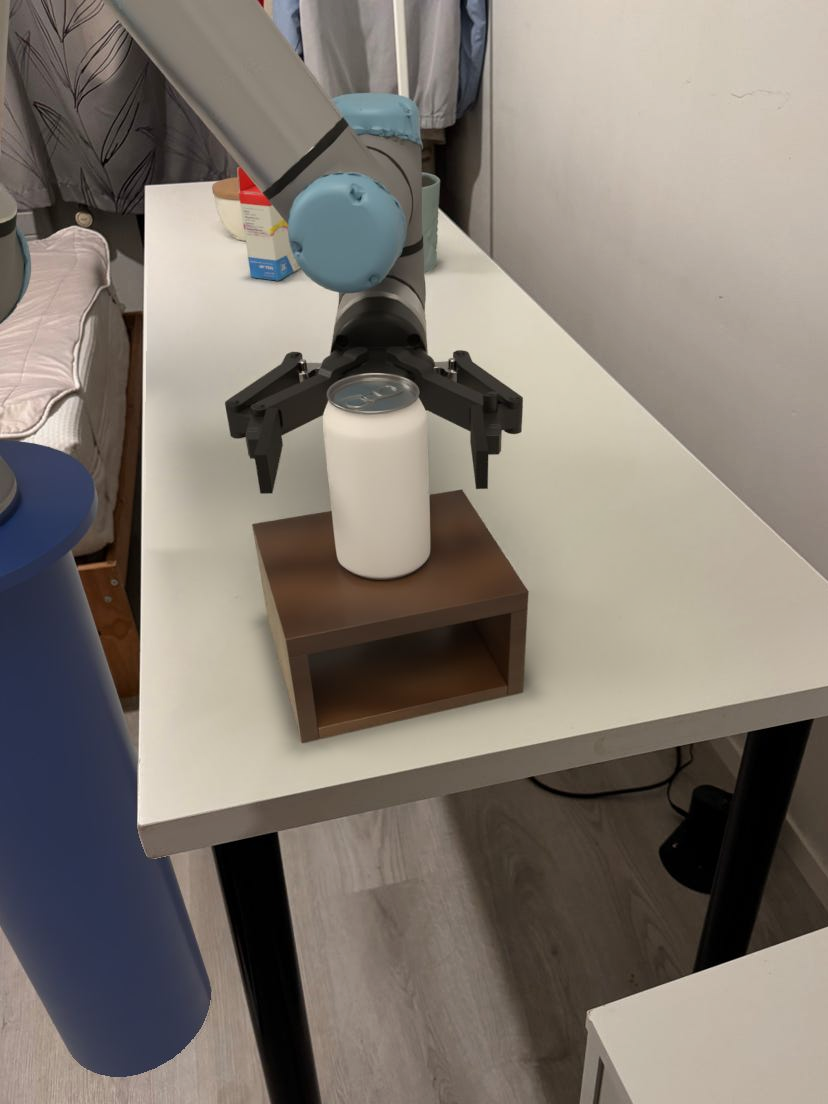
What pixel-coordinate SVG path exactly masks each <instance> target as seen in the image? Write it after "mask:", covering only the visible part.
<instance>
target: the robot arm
mask: <svg viewBox="0 0 828 1104" xmlns="http://www.w3.org/2000/svg"><path fill="white" fill-rule="evenodd" d="M101 1H102V3H103V4H104V6H106V8H107V9H108V10H109V11H110V12H111V13H112V15H113V16H114V17H115V18H116V19H117V21H118V22H119V23H120V24H121V25H122V26H123V28H124V29H125V31H127V33H128V34H129V35H130V36H131V37H132V38H133V40H134V41H135V42H136V43H137V45H138V46H139V47H140V48H141V49H142V51H143V52H144V53H145V54H146V55H147V57H148V58H149V59H150V60H151V61H152V63H153V64H154V66H156V67H157V68H158V70H159V71H160V72H161V73H162V74H163V76H164V77H165V78H166V79H167V80H168V82H169V83H170V84H171V85H172V87H174V89H175V90H176V92H177V93H178V94H179V95H180V96H181V98H183V100H184V101H185V102H186V103H187V105H188V106H189V107H190V108H191V109H192V110H193V112H194V113H195V114H196V115H197V117H198V118H199V119H200V120H201V121H202V122H203V124H204V126H206V127H207V129H208V130H209V131H210V132H211V133H212V135H213V136H214V137H215V139H216V140H217V141H218V142H219V143H220V144H221V146H222V147H223V148H224V149H225V151H227V153H228V154H229V155H230V156H231V157H232V158H233V160H234V161H235V162H236V163H237V165H239V166H238V167H241V168H242V169H243V170H244V172H245V173H246V174H247V175H248V176H249V178H250V179H251V180H252V181H253V182H254V184H255V185H256V186H257V187H258V188H259V190H260V191H261V192H262V193H263V194H264V195H265V197H266V198H267V199H268V200H269V202H270V203H271V204H272V205H273V207H274V208H275V209H276V210H277V212H278V213H279V214H280V215H281V217H282V218H283V219H284V220H285V222H286V223H287V224H288V236H289V242H290V247H291V250H292V253H293V255H294V258H295V260H296V262H297V264H298V265H299V267H300V270H301V271H302V273H304V275H306V277H308V279H310V280H311V281H312V282H313V283H315V284H316V285H318V286H319V287H322V288H323V289H326V290H328V291H331V292H333V293H338V305H337V310H336V315H335V321H334V326H333V333H332V338H331V345H330V351H329V352H330V353H329V355H328V356H326V357H324V359H323V360H322V361H321V362H307V360H306V359H303V353H302V352H300V351H291V352H288V353H286V355H285V356H284V358H283V360H282V362H281V363H280V364H279V365H277V366H276V367H274V368H273V369H271V370H270V371H268V372H266V374H263V375H262V376H261V377H259V378H258V379H256V380H255V381H253V382H252V383H250V384H248V386H246V387H244V388H242V389H241V390H239V392H237V393H236V394H234V395H233V396H230V398H228V399H226V400H225V402H224V407H225V413H226V417H227V423H228V429H229V435H230V437H231V438H232V439H236V440H237V439H244V438H245V444H246V451H247V455H248V458H249V459H250V460H252V459H254V463H255V468H256V469H255V470H256V475H257V481H258V487H259V493H260V495H265V494H273V492H274V488H275V484H276V479H277V475H278V470H279V465H280V461H281V455H282V450H283V447H284V444H283V436H284V435H286V434H288V433H290V432H292V431H294V430H296V429H298V428H301V427H302V426H304V425H307V424H309V423H310V422H313V421H314V420H316V419H319V418H321V417H323V414H324V411H325V408H326V405H327V403H328V398H327V391H328V389H329V388H330V386H331V385H332V384H334V383H335V382H337V381H339V380H341V379H343V378H346V377H349V376H353V375H358V374H366V373H386V374H393V375H398V376H402V377H405V378H407V379H409V380H411V381H413V382H414V383H415V384H416V385H417V386H418V388H419V399H420V401H421V402H422V404H423V406H424V408H425V411H426V412H430V413H431V414H434V415H435V416H437V417H439V418H441V419H443V420H445V421H448V422H450V423H452V424H453V425H455V426H458V427H460V428H462V429H464V430H466V431H468V432H469V433H470V435H469V436H470V437H469V439H470V441H469V442H470V451H471V458H472V459H471V460H472V468H473V476H474V477H473V478H474V484H475V489H476V490H488V488H489V456H490V455H491V456H492V455H494V456H495V455H497V456H498V455H500V453H501V452H502V437H503V436H502V433H503V431H504V432H505V433H506V434H509V435H518V434H521V433H522V430H523V429H522V428H523V413H524V412H523V411H524V410H523V409H524V397H523V396H522V395H520V394H519V393H517V392H516V391H515V390H513V389H512V388H511V387H509V385H508V386H507V384H505V383H504V382H502V381H501V380H499V379H498V378H497V377H495V376H494V375H492V374H491V373H489V372H488V371H487V370H485V369H484V368H482V367H481V366H479V364H477V363H475V362H474V361H473V359H472V357H471V355H470V352H468V351H467V350H463V349H458V350H455V351H453V352H452V357H449V358H448V361H447V360H446V361H435V359H434V358H433V357H432V356H430V355H429V352H428V338H427V336H428V333H427V319H426V299H427V298H426V297H427V296H426V294H427V293H426V291H427V290H426V277H425V272H424V245H423V235H422V171H423V169H422V167H423V166H422V162H423V161H422V150H424V143H423V141H422V138H421V122H420V110H419V108H418V106H417V104H416V102H415V101H413V100H412V99H411V98H410V97H407V96H405V95H401V94H394V93H385V92H357V93H347V94H342V95H338V96H336V97H333V98H331V97H330V95H329V94H328V93H327V91H326V89H324V88H323V86H322V85H321V84H320V82H319V81H318V79H317V78H316V76H315V75H314V74H313V73H312V71H311V70H310V68H309V67H308V66H307V64H305V62H304V60H302V58H301V57H300V55H299V54H298V52H297V51H296V50H295V48H294V47H293V46H292V44H291V43H290V42H289V40H288V39H287V37H286V36H285V35H284V34H283V32H282V31H281V30H280V28H279V27H278V26H277V24H276V23H275V22H274V20H273V19H272V18H271V16H270V15H269V14H268V13H267V11H266V9H265V8H264V7H263V6H262V4H261V3H260V1H259V0H101ZM10 9H11V0H0V160H1V158H2V140H3V126H4V125H3V124H4V110H5V109H4V107H5V93H6V91H5V90H6V74H7V61H8V59H7V58H8V57H7V56H8V41H9V26H10V25H9V23H10ZM17 216H18V203H17V200H16V198H15V197H14V195H13V194H12V193H11V192H10V190H9V188H7V187H6V186H5V184H4V183H3V182H2V181H1V180H0V325H2V324H3V323H4V322H5V321H6V320H7V319H8V318H9V317H10V316H12V314H13V313H14V312H15V310H16V309H17V307H18V304H20V303H21V301H22V300H23V298H24V296H25V294H26V292H27V290H28V288H29V285H30V281H31V276H32V257H31V251H30V247H29V244H28V241H27V239H26V236H25V234H24V232H23V231H21V230H20V229H19V227H18V225H17V221H18V217H17ZM20 501H21V493H20V490H19V487H18V484H17V481H16V478H15V475H14V473H13V471H12V470H11V469H10V467H9V466H8V465H7V463H6V462H5V461H4V460H3V458H2V457H1V456H0V527H1V526H2V525H3V524H5V523H6V522H7V521H8V520H9V519H10V518H11V517H12V516H13V515H14V513H15V512H16V511H17V509H18V507H19V504H20Z"/></svg>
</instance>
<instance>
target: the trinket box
mask: <svg viewBox="0 0 828 1104" xmlns="http://www.w3.org/2000/svg"><path fill="white" fill-rule="evenodd" d="M211 189H212V190H211V191H212V194H213V198H214V203H215V208H216V211H217V212H216V213H217V215H218V217H219V220H220V222H221V223H222V226H223V227H224V228H225V229H226V230H227V231H228V233H230V234H232V235H233V237H234V239H236V240H238V241H243V242H246V239H245V232H244V225H243V218H242V212H241V205H240V198H239V184H238V176H235V177H228V178H224V179H221V180H218V181H216V182H214V183H213V184H212V186H211Z"/></svg>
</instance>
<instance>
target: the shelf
mask: <svg viewBox="0 0 828 1104" xmlns="http://www.w3.org/2000/svg"><path fill="white" fill-rule="evenodd" d="M429 501H430V555H429V557H428V559H427V560H426V562H425V563H424V564H423V565H422V566H421V567H420V568H419V569H418V570H416V571H415V572H413V573H411V574H409V575H407V576H404V577H401V578H397V579H391V580H371V579H366V578H362V577H360V576H357V575H355V574H353V573H351V572H350V571H348V570H347V569H346V568H344V567H343V566H342V565H341V564H340V563H339V561H338V558H337V554H336V546H335V537H334V528H333V519H332V510H329V511H321V512H315V513H309V514H304V515H303V514H302V515H298V516H292V517H285V518H280V519H274V520H267V521H262V522H254V523H252V524H251V527H252V531H253V538H254V544H255V550H256V557H257V562H258V568H259V573H260V581H261V587H262V591H263V597H264V603H265V609H266V616H267V621H268V625H269V629H270V632H271V636H272V639H273V643H274V647H275V651H276V654H277V657H278V661H279V665H280V669H281V673H282V676H283V679H284V683H285V687H286V691H287V694H288V698H289V702H290V705H291V709H292V713H293V717H294V721H295V724H296V727H297V730H298V731H297V732H298V734H299V739H300V741H301V744H305V743H308V742H313V741H316V740H319V739H325V738H330V737H333V736H339V735H343V734H346V733H351V732H356V731H360V730H364V729H365V730H366V729H369V728H374V727H377V726H381V725H386V724H390V723H394V722H395V723H396V722H400V721H403V720H408V719H413V718H417V717H421V716H424V715H430V714H434V713H439V712H443V711H447V710H451V709H456V708H460V707H464V706H465V707H466V706H469V705H473V704H477V703H482V702H487V701H490V700H491V701H492V700H495V699H500V698H504V697H507V696H508V697H509V696H513V695H517V694H522V693H524V683H525V682H524V681H525V680H524V679H525V665H526V664H525V663H526V643H527V642H526V641H527V629H528V628H527V627H528V607H529V590H528V588H527V587H526V586H525V584H524V582H523V581H522V580H521V579H522V578H520V576H519V575H518V573H517V571H516V570H515V569H514V567H513V565H512V563H511V562H510V561H509V559H508V558H507V556H506V555H505V553H504V551H503V550H502V549H501V547H500V545H499V544H498V542H497V541H496V538H494V536H493V535H492V533H491V531H490V530H489V528H488V527H487V526H486V524H485V522H484V521H483V519H482V517H481V516H480V515H479V513H478V511H477V510H476V509H475V507H474V504H472V502H471V500H470V499H469V498H468V496H467V495H466V493H465V491H464V490H463V488H462V489H455V490H449V491H443V492H438V493H431V494H430V493H429Z"/></svg>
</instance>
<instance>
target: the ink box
mask: <svg viewBox="0 0 828 1104" xmlns="http://www.w3.org/2000/svg"><path fill="white" fill-rule="evenodd" d="M236 171H237V172H236V173H237V177H238V184H239V198H240V205H241V212H242V218H243V225H244V232H245V239H246V241H245V246H246V252H247V259H248V266H249V274H250V277H251V278H254V279H261V280H269V281H277V282H278V281H281V280H282V279H284V278H287V277H288V276H290V275H291V274H293V273H295V272H296V271H298V270H301V268H300V267H299V265H298V264H297V262H296V260H295V258H294V255H293V253H292V250H291V247H290V242H289V236H288V224H287V223H286V222H285V220H284V219H283V218H282V217H281V215H280V214H279V213H278V212H277V210H276V209H275V208H274V207H273V205H272V204H271V203H270V202H269V200H268V199H267V198H266V197H265V195H264V194H263V193H262V192H261V191H260V190H259V188H258V187H257V186H256V185H255V184H254V182H253V181H252V180H251V179H250V178H249V176H248V175H247V174H246V173H245V172H244V170H243V169H242V168H241V167H240V166H238V167H237V169H236Z"/></svg>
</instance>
